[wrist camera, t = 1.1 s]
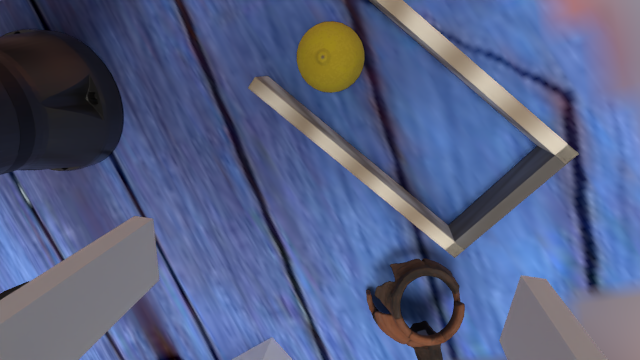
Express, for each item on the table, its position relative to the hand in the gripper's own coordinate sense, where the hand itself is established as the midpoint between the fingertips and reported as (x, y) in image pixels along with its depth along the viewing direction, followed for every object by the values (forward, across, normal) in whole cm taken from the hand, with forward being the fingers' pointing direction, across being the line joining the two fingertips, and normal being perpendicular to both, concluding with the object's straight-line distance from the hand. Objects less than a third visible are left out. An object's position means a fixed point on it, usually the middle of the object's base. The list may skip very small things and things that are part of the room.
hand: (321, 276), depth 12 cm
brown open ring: (+23, +8, -17) cm, 30 cm away
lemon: (+24, -3, +7) cm, 25 cm away
